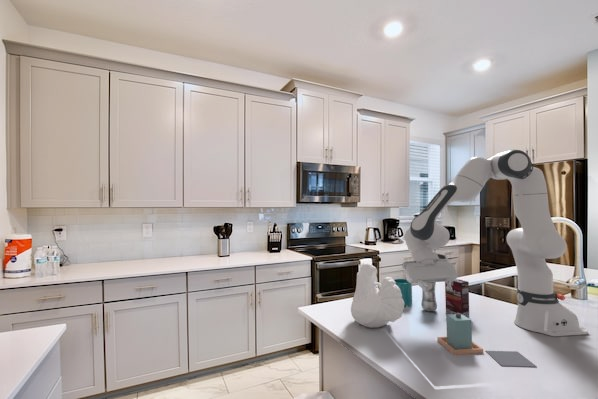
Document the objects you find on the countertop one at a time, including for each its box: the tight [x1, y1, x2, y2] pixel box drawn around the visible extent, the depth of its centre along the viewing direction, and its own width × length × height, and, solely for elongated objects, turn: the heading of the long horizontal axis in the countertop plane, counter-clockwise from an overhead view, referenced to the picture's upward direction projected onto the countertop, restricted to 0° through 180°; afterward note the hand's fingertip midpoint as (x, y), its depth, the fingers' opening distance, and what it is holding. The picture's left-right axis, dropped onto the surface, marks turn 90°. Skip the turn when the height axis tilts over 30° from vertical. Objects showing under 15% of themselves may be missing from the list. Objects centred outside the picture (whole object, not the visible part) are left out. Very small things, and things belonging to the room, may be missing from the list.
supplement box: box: [444, 278, 470, 319], centre depth 130 cm, size 9×5×16 cm, turn 23°
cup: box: [393, 278, 413, 307], centre depth 147 cm, size 9×12×11 cm
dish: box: [436, 336, 484, 356], centre depth 101 cm, size 10×10×3 cm
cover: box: [445, 313, 473, 350], centre depth 101 cm, size 6×6×11 cm
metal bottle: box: [421, 282, 438, 312], centre depth 137 cm, size 6×7×20 cm
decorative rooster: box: [350, 262, 405, 329], centre depth 120 cm, size 25×16×25 cm, turn 17°
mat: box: [485, 350, 538, 368], centre depth 93 cm, size 10×9×1 cm
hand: (438, 290), depth 114 cm, fingers open, 8 cm apart
